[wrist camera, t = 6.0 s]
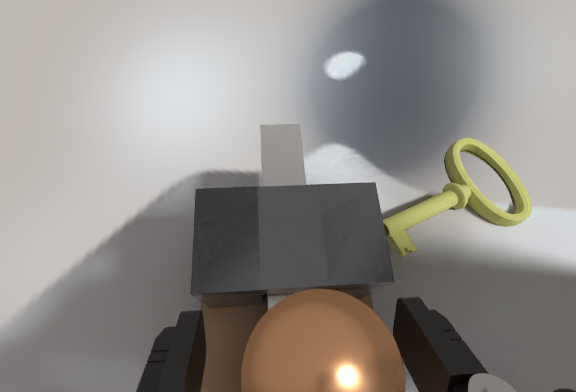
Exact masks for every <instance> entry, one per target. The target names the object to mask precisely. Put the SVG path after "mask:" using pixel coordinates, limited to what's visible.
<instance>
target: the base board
mask: <svg viewBox="0 0 576 392" xmlns="http://www.w3.org/2000/svg"><path fill="white" fill-rule="evenodd" d="M358 300H360V301H362V302H363V303H364V304H366V305H367V306H368V307H370V308H371V309H372V310H373V306H372V300H371V294H370V295H368V296H366V297H365V298H361V299H358ZM201 311H202V313H203V320H204V328H205V337H206V362H205V368H204V374H203V380H202V386H201V392H242V385H241V371H242V362H243V356H244V352H245V349H246V346H247V343H248V340H249V338H250V336H251V333H252V332H253V330H254V328H255V327H256V325H257V323H258V322H259V321H260V319H261V318H262V317H263V315H264V314H265V313H266V312H267V311H268V305H253V306H237V307H222V308H209V307H208V306H206V305H205V304H204V303H202V305H201Z"/></svg>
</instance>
